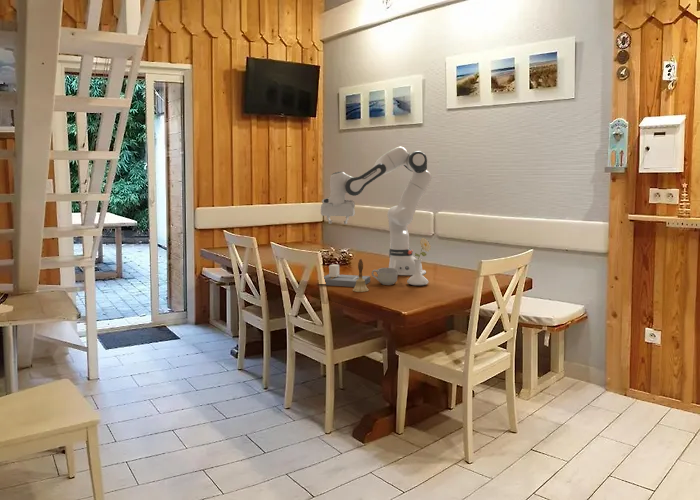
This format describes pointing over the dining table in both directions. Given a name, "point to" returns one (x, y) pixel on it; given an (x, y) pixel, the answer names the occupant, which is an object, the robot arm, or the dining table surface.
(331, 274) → the fader
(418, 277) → the flower in vase
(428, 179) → the robot arm
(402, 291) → the dining table surface
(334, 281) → the console
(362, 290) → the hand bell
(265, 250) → the dining table surface
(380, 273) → the teacup
